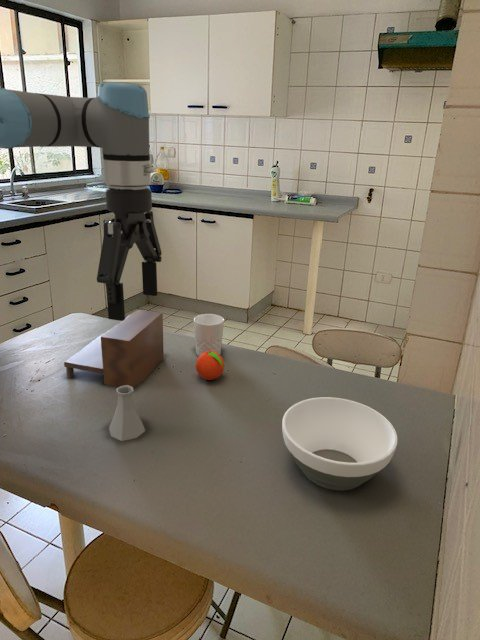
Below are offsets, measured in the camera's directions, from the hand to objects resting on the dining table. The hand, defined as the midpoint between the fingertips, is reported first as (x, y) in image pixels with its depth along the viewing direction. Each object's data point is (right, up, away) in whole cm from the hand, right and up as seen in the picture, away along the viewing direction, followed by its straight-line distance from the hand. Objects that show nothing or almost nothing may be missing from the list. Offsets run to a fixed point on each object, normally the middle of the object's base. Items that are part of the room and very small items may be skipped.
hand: (134, 306), depth 85 cm
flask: (-3, -25, +6) cm, 26 cm away
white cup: (+11, -12, +40) cm, 43 cm away
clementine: (+12, -17, +28) cm, 35 cm away
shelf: (-11, -15, +30) cm, 35 cm away
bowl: (+36, -30, -2) cm, 47 cm away
